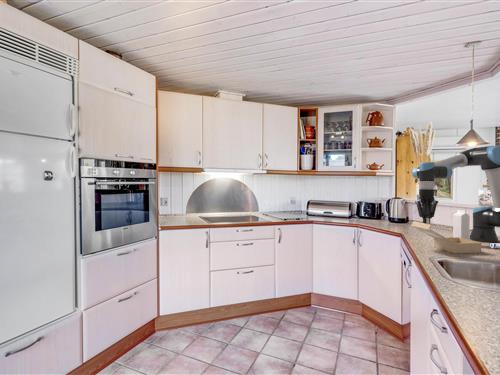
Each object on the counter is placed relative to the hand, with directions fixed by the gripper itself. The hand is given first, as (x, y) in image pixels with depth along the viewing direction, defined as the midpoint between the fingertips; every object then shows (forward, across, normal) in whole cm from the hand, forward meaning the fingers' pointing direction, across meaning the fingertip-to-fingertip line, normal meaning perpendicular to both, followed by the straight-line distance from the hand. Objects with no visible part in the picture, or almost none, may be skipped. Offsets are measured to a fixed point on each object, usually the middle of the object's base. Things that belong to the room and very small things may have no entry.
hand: (426, 229), depth 166 cm
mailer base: (+13, -19, 0) cm, 23 cm away
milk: (+13, -34, -14) cm, 39 cm away
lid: (0, -5, 0) cm, 5 cm away
